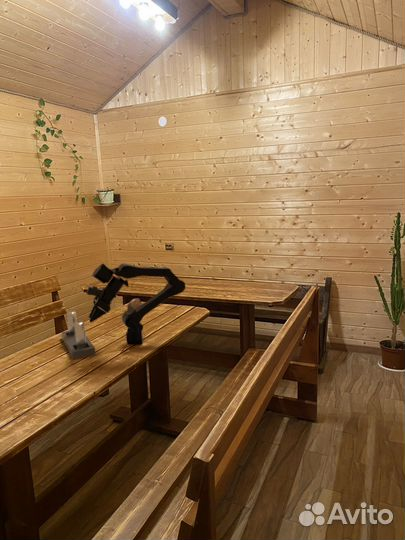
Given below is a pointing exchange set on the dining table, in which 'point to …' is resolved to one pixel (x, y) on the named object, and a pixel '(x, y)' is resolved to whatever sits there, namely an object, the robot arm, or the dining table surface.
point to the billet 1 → (71, 322)
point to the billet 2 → (80, 335)
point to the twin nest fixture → (72, 348)
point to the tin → (134, 303)
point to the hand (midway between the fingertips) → (89, 319)
